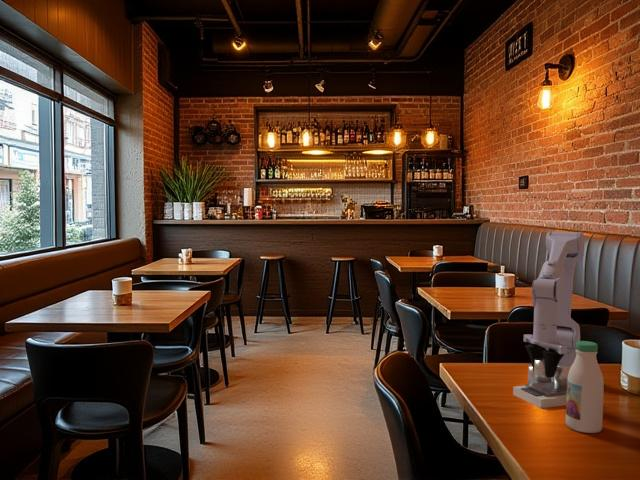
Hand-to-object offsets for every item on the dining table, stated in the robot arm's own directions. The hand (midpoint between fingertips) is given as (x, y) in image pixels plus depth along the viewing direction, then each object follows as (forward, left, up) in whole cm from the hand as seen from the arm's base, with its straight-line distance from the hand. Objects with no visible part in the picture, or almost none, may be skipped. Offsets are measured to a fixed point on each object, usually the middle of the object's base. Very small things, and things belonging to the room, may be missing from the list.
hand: (543, 374), depth 151 cm
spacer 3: (-6, 0, -4) cm, 7 cm away
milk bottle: (+4, +19, -7) cm, 21 cm away
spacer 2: (0, 0, -2) cm, 2 cm away
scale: (-2, 0, -7) cm, 7 cm away
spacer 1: (-6, -11, -7) cm, 14 cm away
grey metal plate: (-3, 0, -4) cm, 5 cm away
